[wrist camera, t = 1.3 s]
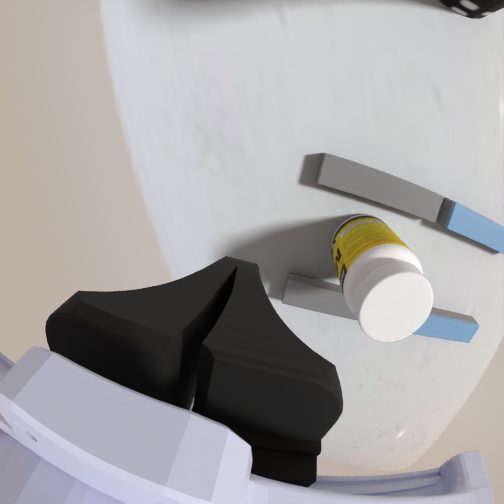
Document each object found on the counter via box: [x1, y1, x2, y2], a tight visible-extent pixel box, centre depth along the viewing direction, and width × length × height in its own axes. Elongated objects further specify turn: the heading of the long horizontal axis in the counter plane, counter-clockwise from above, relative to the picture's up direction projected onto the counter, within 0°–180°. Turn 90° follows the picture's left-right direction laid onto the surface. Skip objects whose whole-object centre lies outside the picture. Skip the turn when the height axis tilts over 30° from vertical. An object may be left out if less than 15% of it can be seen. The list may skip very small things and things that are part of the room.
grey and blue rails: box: [282, 153, 504, 343], centre depth 18 cm, size 11×19×2 cm, turn 77°
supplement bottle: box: [331, 214, 433, 342], centre depth 15 cm, size 5×5×8 cm
